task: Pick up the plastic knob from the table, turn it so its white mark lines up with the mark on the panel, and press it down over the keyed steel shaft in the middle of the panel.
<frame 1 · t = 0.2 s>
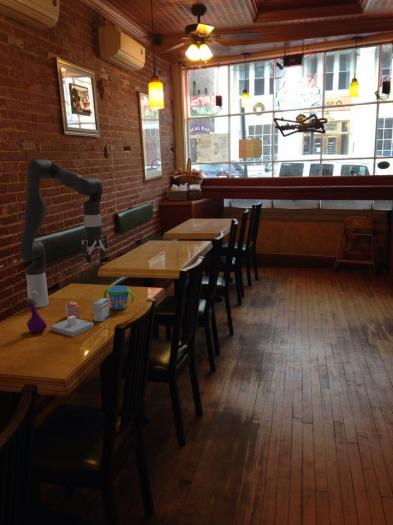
hand: (95, 260, 192), 28 cm above the table, tool pointing down, fingers open, 8 cm apart
knob: (73, 317, 202), on the table
perfume bottle: (37, 331, 186), on the table
snack cup: (119, 308, 214), on the table
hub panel: (72, 328, 188), on the table
medicine box: (102, 318, 200), on the table
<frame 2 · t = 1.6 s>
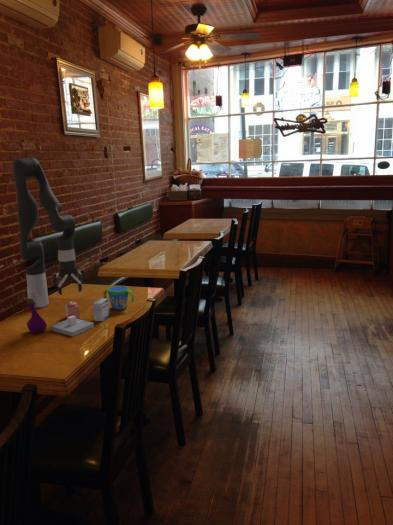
hand: (70, 293, 199), 12 cm above the table, tool pointing down, fingers open, 8 cm apart
nothing on the table moved.
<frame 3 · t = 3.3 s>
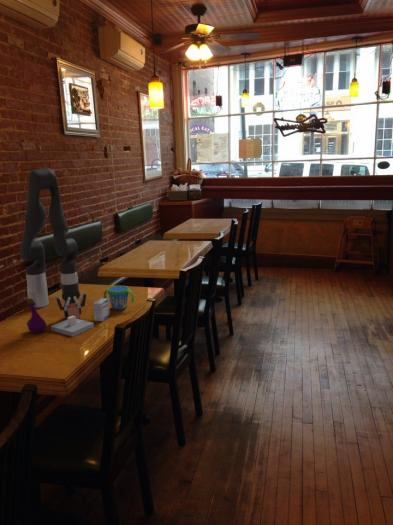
hand: (73, 316, 202), 1 cm above the table, tool pointing down, fingers closed on knob, 5 cm apart
knob: (73, 317, 202), on the table, touching gripper
everything else where it was.
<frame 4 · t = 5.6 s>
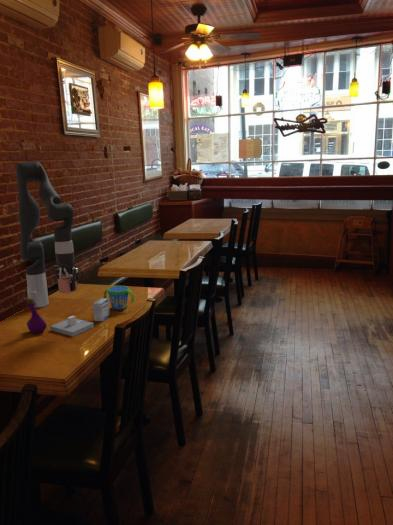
hand: (68, 289, 184), 18 cm above the table, tool pointing down, fingers closed on knob, 5 cm apart
knob: (68, 291, 184), point 17 cm above the table, touching gripper
everything else where it was.
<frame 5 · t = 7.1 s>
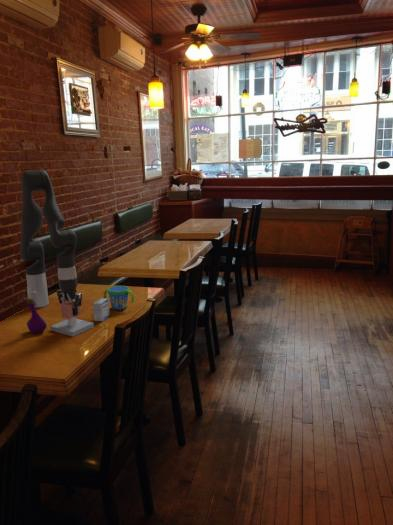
hand: (71, 314, 187), 7 cm above the table, tool pointing down, fingers closed on knob, 5 cm apart
knob: (71, 315, 187), point 6 cm above the table, touching gripper
everything else where it was.
when the fingers open (3 cm above the table, at t = 8.3 s): knob stays where it is, resting on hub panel.
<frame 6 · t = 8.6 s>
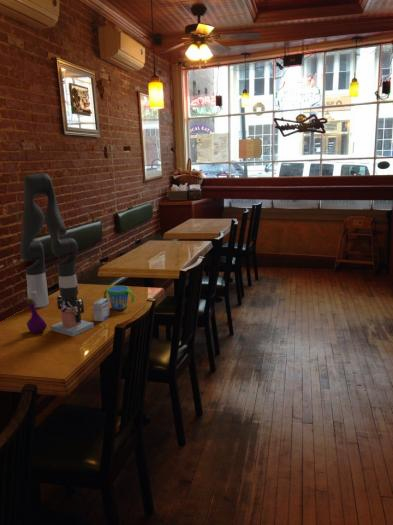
hand: (71, 320, 188), 4 cm above the table, tool pointing down, fingers open, 8 cm apart
knob: (72, 324, 188), point 2 cm above the table, touching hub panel
everything else where it was.
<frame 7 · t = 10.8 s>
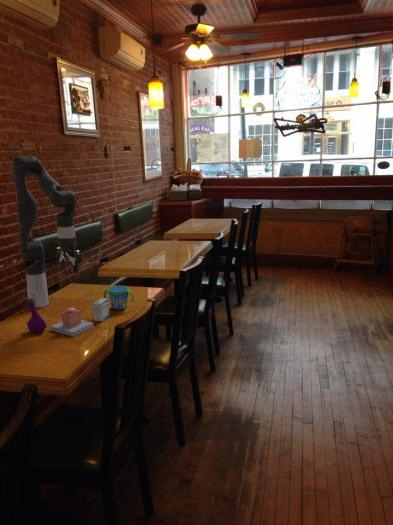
hand: (69, 271, 194), 23 cm above the table, tool pointing down, fingers open, 8 cm apart
nothing on the table moved.
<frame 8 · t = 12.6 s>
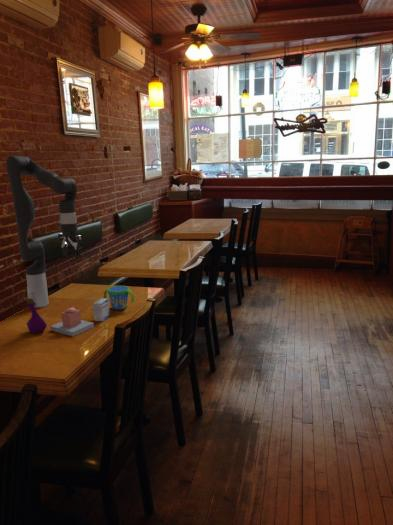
hand: (71, 256, 203), 28 cm above the table, tool pointing down, fingers open, 8 cm apart
nothing on the table moved.
at the end: knob 0.1 cm off-centre on the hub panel, point 2.0 cm above the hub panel's base; knob tilted 0°; the gripper is holding nothing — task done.
